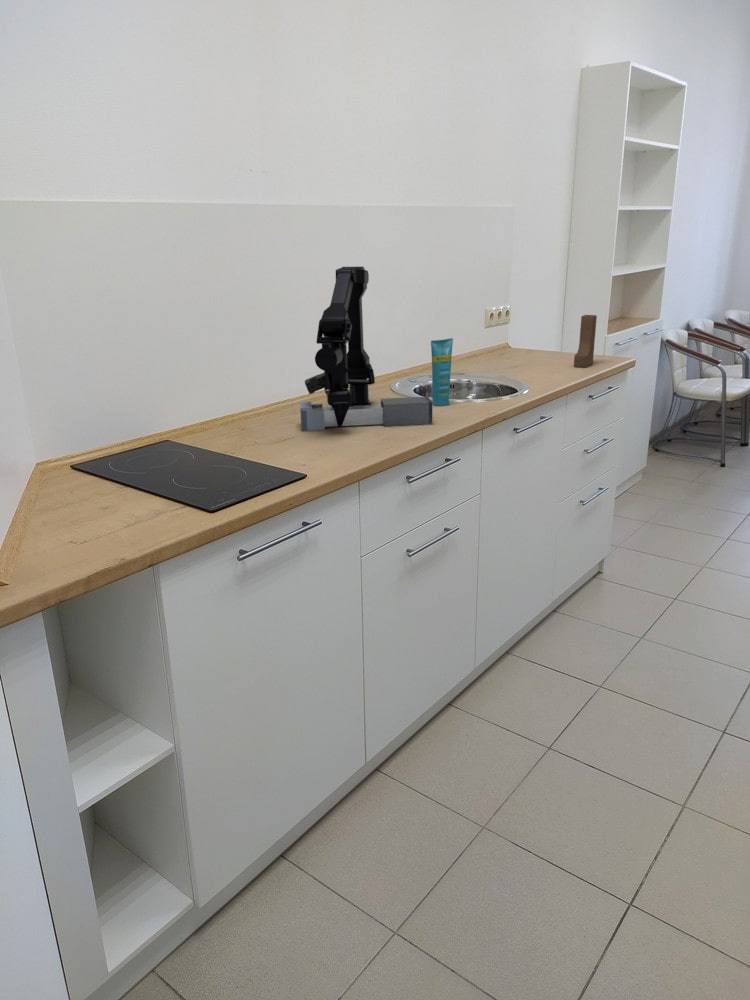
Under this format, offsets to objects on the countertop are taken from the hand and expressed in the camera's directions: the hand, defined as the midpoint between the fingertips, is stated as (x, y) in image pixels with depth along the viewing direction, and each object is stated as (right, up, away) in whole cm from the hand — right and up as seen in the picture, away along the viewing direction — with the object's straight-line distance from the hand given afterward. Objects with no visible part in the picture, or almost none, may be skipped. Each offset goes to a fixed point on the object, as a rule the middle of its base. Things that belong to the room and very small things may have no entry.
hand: (338, 421), depth 198 cm
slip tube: (+4, -1, +1) cm, 4 cm away
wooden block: (+87, +29, +75) cm, 119 cm away
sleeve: (+18, 0, +2) cm, 19 cm away
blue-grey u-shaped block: (-7, -1, 0) cm, 7 cm away
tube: (+30, +7, +21) cm, 37 cm away
